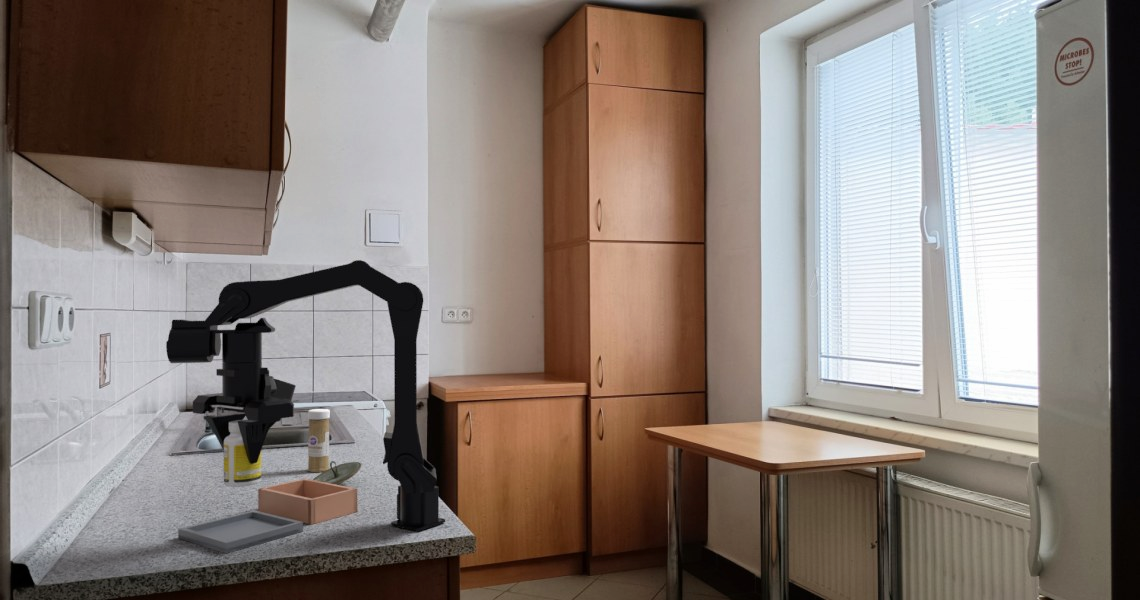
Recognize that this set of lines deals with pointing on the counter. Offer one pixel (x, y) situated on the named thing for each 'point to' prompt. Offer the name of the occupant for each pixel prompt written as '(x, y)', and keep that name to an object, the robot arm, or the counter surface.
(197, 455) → the counter surface
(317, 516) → the holder
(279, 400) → the robot arm
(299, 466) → the counter surface
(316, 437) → the sprinkles bottle
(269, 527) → the tray
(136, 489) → the counter surface
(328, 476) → the lid
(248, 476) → the supplement bottle
